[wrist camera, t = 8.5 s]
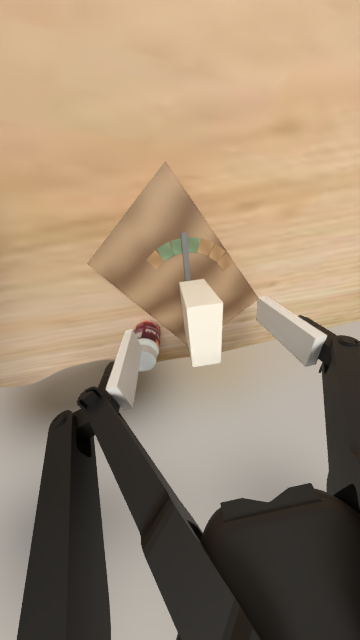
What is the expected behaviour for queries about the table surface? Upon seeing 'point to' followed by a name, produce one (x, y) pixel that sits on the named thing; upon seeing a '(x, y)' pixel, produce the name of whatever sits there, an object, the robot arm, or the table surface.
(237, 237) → the table surface
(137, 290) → the board
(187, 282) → the white boxy piece
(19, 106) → the table surface
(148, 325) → the pill bottle
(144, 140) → the table surface
